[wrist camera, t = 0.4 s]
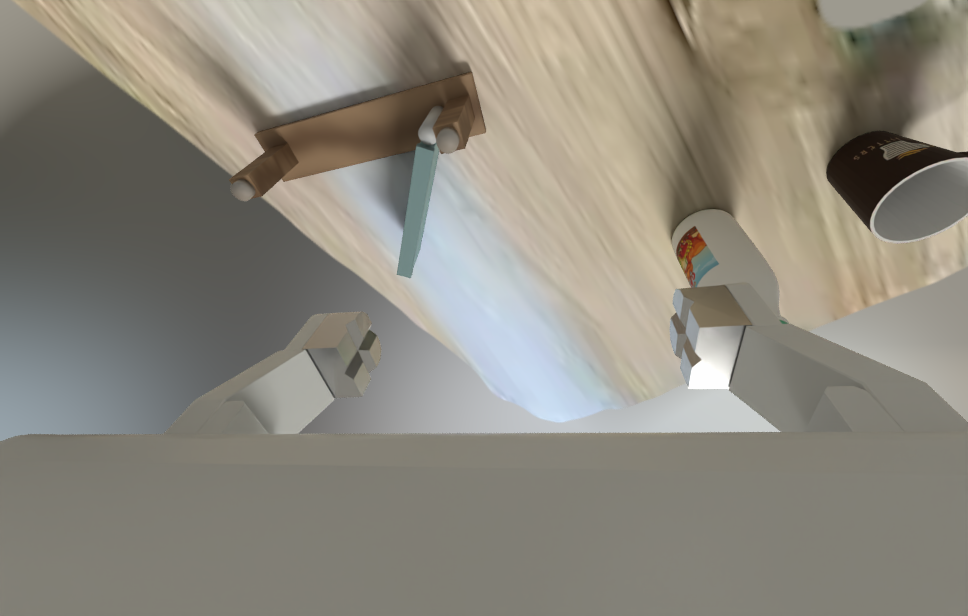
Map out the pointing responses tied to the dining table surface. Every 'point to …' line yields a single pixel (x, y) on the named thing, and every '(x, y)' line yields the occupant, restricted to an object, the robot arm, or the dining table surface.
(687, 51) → the dining table surface
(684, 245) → the milk bottle
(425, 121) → the gate
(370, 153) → the gate frame
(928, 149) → the coffee mug
